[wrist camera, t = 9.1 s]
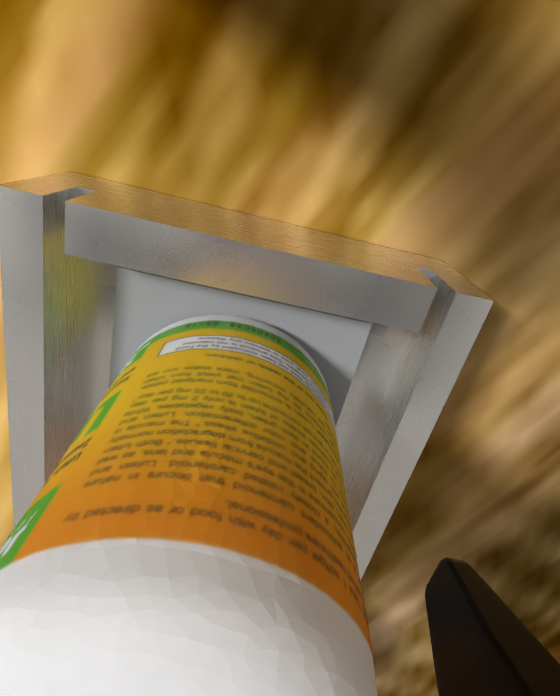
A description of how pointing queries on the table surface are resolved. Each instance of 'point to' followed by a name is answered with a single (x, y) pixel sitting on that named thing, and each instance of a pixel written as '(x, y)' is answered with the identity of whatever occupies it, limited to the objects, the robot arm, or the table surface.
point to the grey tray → (222, 299)
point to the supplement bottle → (192, 534)
